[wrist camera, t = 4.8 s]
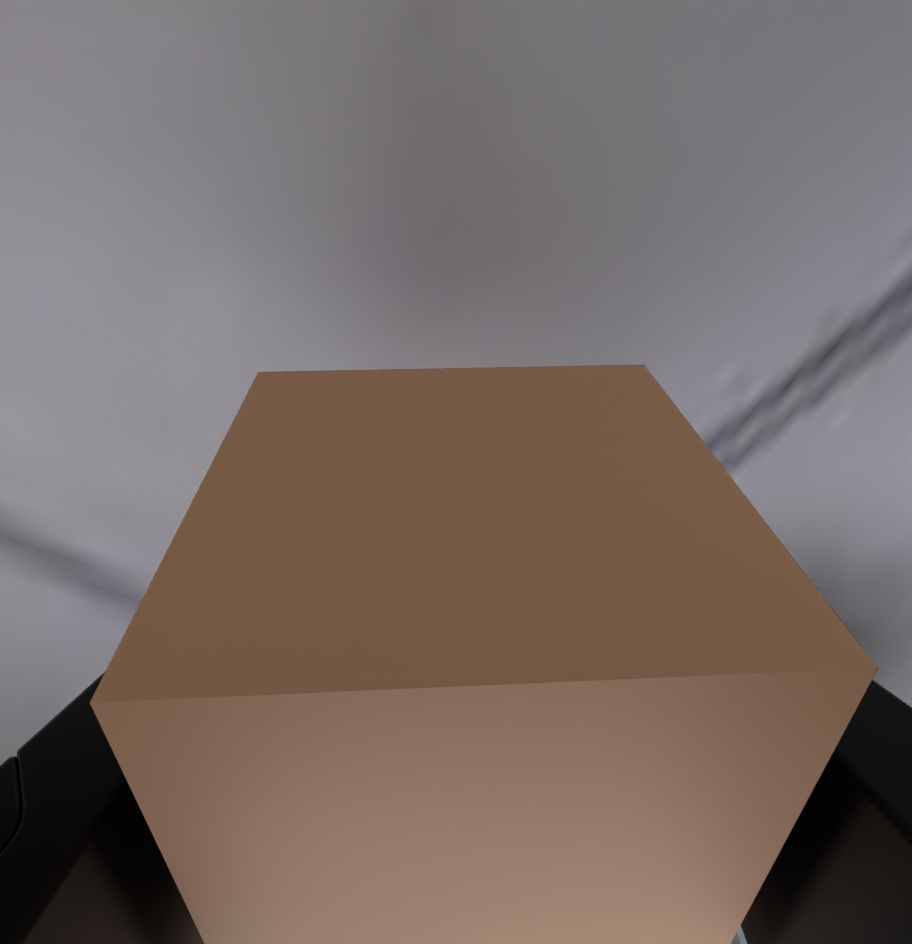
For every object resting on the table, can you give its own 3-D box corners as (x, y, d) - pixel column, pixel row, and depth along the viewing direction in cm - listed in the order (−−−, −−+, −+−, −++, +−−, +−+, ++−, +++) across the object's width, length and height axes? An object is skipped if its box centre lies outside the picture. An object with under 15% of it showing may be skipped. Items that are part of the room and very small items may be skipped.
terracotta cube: (306, 644, 11) (237, 1014, 7) (258, 372, 8) (90, 702, 4) (596, 633, 11) (709, 982, 7) (643, 364, 8) (878, 668, 4)
